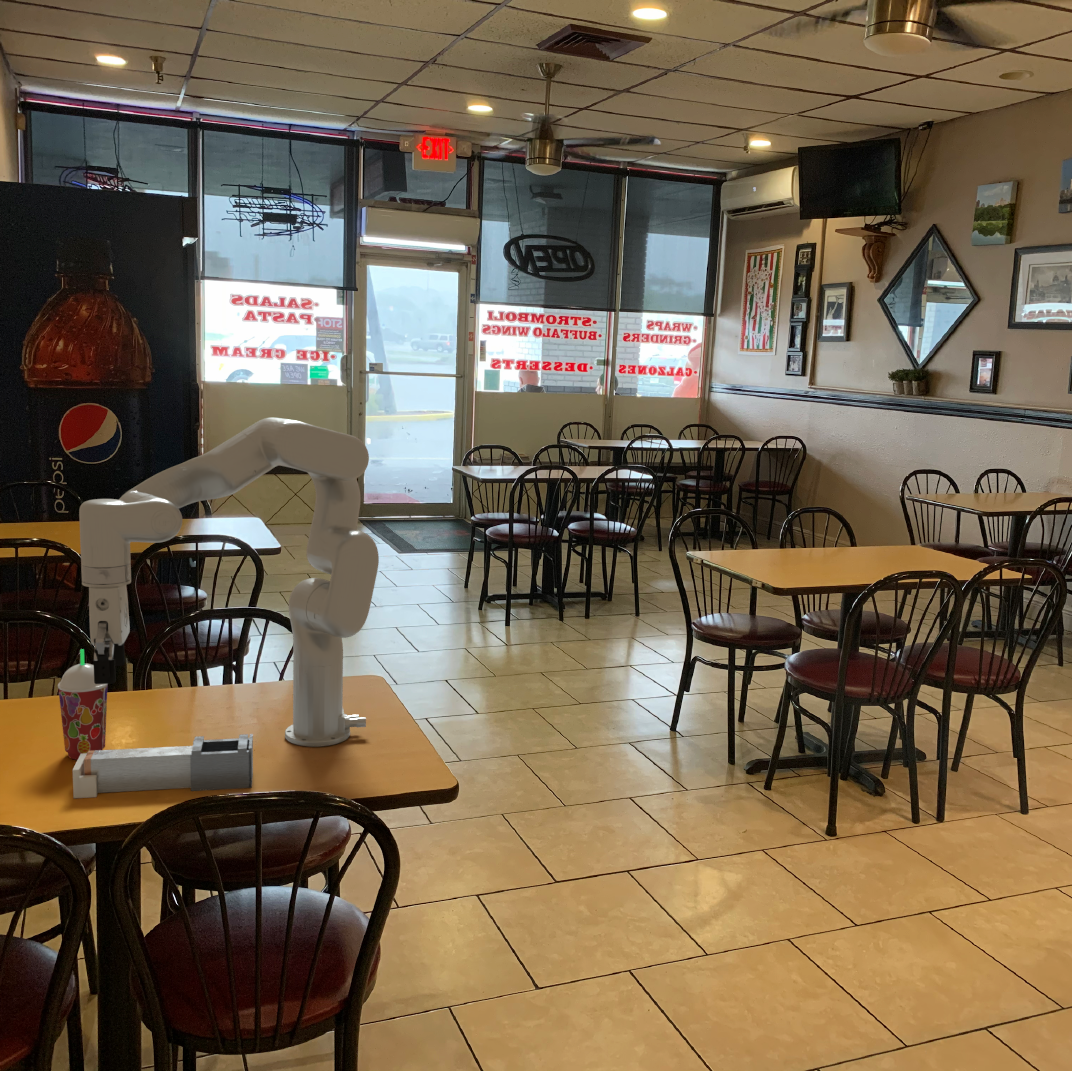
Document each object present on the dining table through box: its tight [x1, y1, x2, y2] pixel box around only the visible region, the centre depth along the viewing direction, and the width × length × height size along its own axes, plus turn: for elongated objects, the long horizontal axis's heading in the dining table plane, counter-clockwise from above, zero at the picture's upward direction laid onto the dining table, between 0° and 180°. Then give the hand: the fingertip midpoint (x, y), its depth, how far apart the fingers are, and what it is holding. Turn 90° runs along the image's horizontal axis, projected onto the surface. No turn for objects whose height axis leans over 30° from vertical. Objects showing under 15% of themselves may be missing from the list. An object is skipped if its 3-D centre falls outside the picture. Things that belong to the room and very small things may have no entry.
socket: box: [72, 753, 98, 799], centre depth 173 cm, size 4×7×5 cm, turn 14°
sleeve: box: [190, 733, 254, 792], centre depth 178 cm, size 10×7×7 cm
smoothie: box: [57, 648, 109, 761], centre depth 186 cm, size 8×8×20 cm
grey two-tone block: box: [84, 745, 193, 794], centre depth 175 cm, size 18×4×6 cm, turn 104°
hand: (109, 674), depth 171 cm, fingers open, 9 cm apart
